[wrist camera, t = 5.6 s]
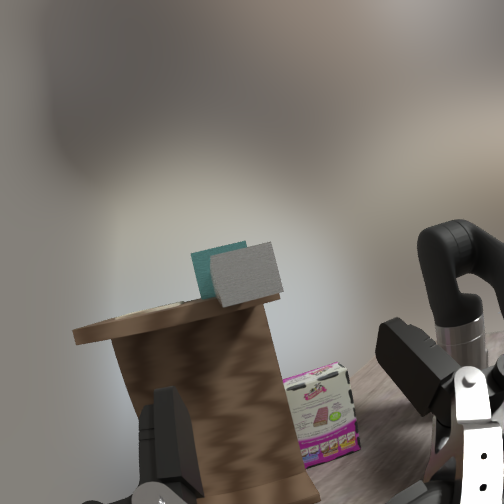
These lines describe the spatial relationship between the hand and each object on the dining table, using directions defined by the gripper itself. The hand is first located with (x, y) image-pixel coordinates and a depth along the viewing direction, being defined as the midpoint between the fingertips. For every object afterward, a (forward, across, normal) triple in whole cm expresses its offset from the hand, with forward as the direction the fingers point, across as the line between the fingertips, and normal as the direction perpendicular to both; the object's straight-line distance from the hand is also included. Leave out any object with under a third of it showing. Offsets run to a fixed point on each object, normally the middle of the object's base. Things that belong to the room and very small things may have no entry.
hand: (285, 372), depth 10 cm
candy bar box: (+12, -9, +41) cm, 44 cm away
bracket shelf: (+4, +6, +36) cm, 37 cm away
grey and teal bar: (+15, 0, +5) cm, 15 cm away
